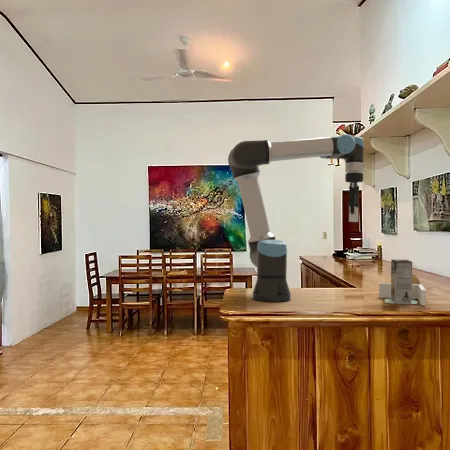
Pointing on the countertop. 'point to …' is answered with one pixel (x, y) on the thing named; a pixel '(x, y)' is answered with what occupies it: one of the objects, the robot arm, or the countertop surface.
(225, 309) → the countertop surface
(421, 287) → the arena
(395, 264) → the coffee box
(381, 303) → the countertop surface
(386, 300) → the pad
